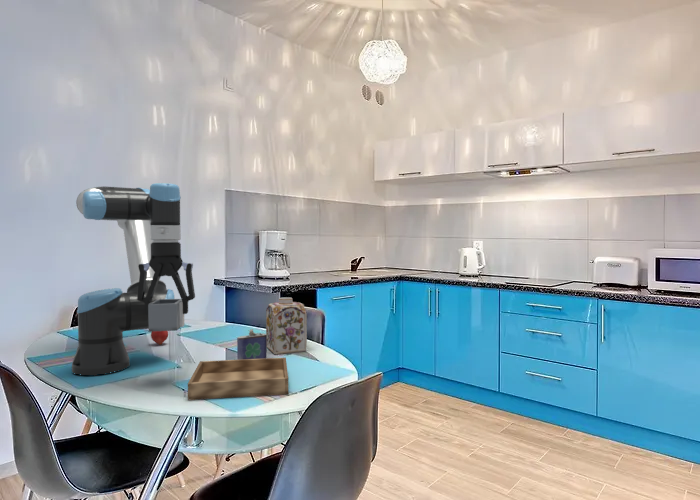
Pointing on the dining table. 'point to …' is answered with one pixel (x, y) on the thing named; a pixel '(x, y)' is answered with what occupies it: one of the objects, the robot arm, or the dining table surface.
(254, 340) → the flask
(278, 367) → the tray
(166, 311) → the small crate
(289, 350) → the decorative jar
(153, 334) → the onion
